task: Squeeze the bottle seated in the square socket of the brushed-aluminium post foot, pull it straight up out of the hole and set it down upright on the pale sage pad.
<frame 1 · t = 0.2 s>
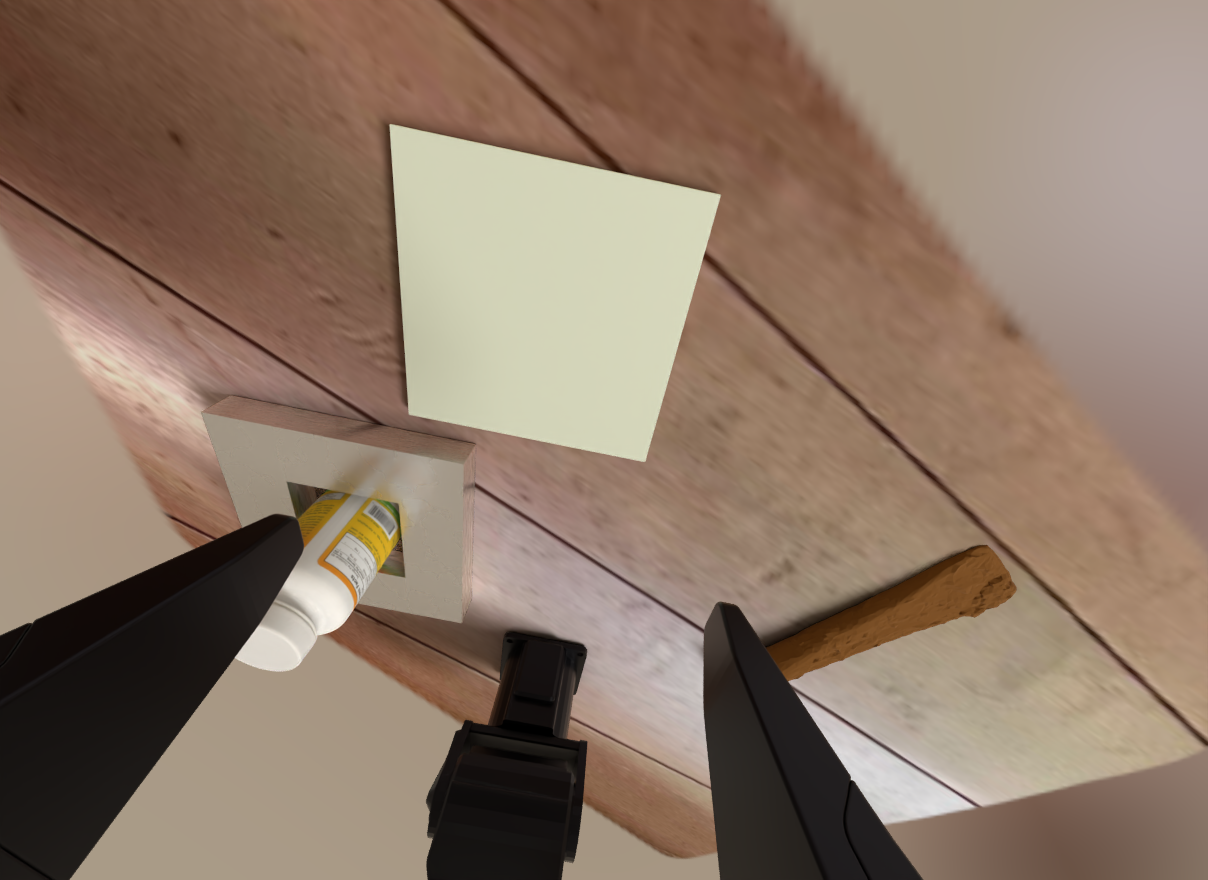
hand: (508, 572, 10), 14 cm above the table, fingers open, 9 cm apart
post foot: (367, 511, 29), on the table
sage pad: (542, 318, 21), on the table
primitive tool: (847, 610, 31), on the table
supplement bottle: (369, 508, 29), resting in post foot
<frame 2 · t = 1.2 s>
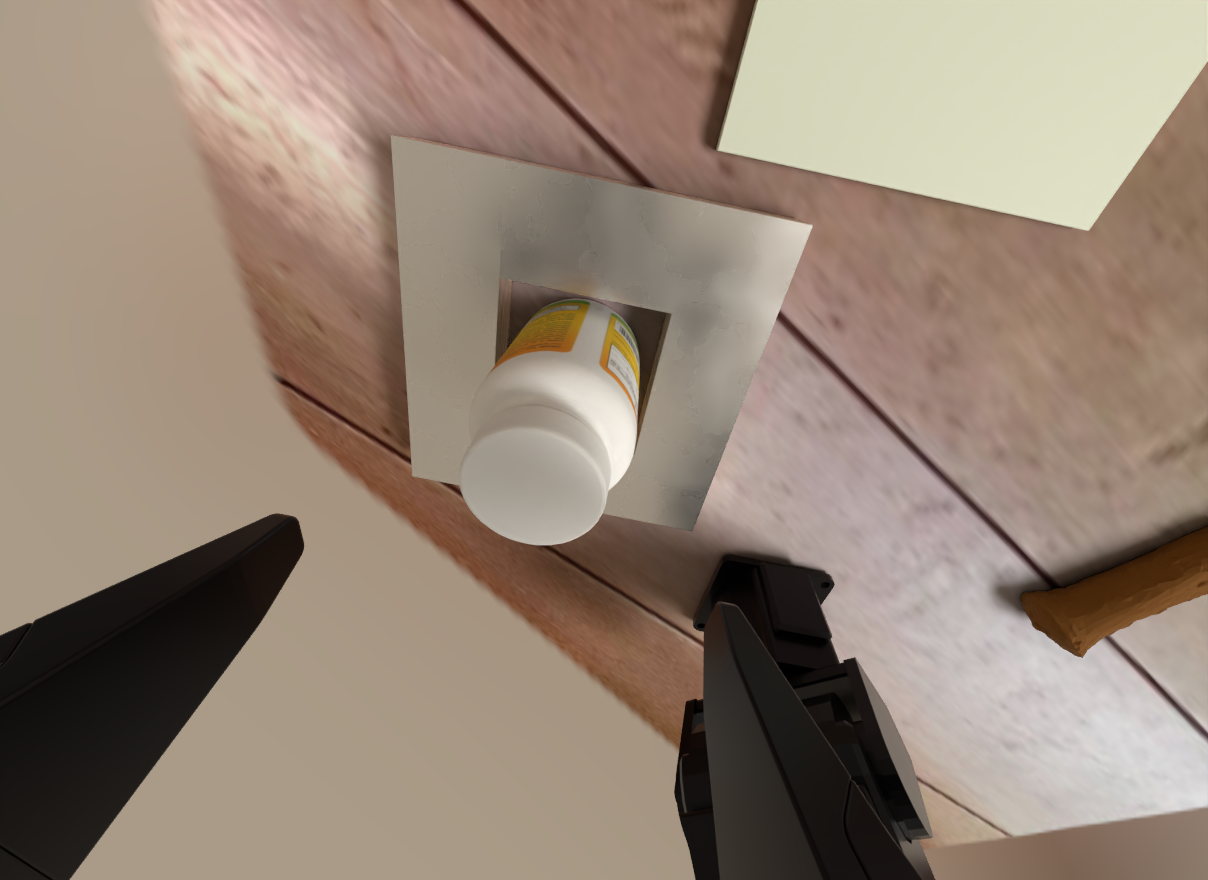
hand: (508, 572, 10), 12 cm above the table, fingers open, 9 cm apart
post foot: (579, 357, 20), on the table
supplement bottle: (580, 355, 20), resting in post foot
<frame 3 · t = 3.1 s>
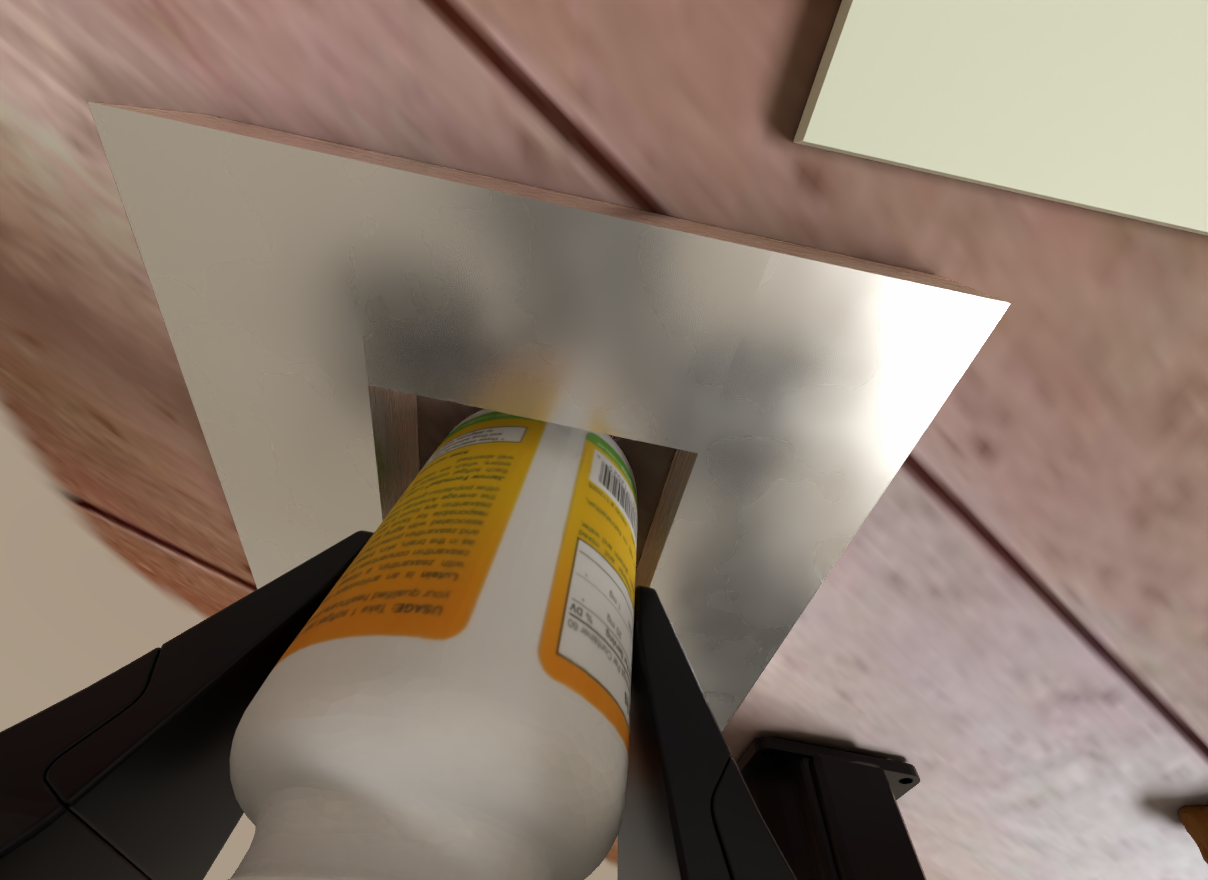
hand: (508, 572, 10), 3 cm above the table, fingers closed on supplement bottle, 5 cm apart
post foot: (538, 486, 12), on the table
supplement bottle: (540, 480, 12), resting in post foot, touching gripper
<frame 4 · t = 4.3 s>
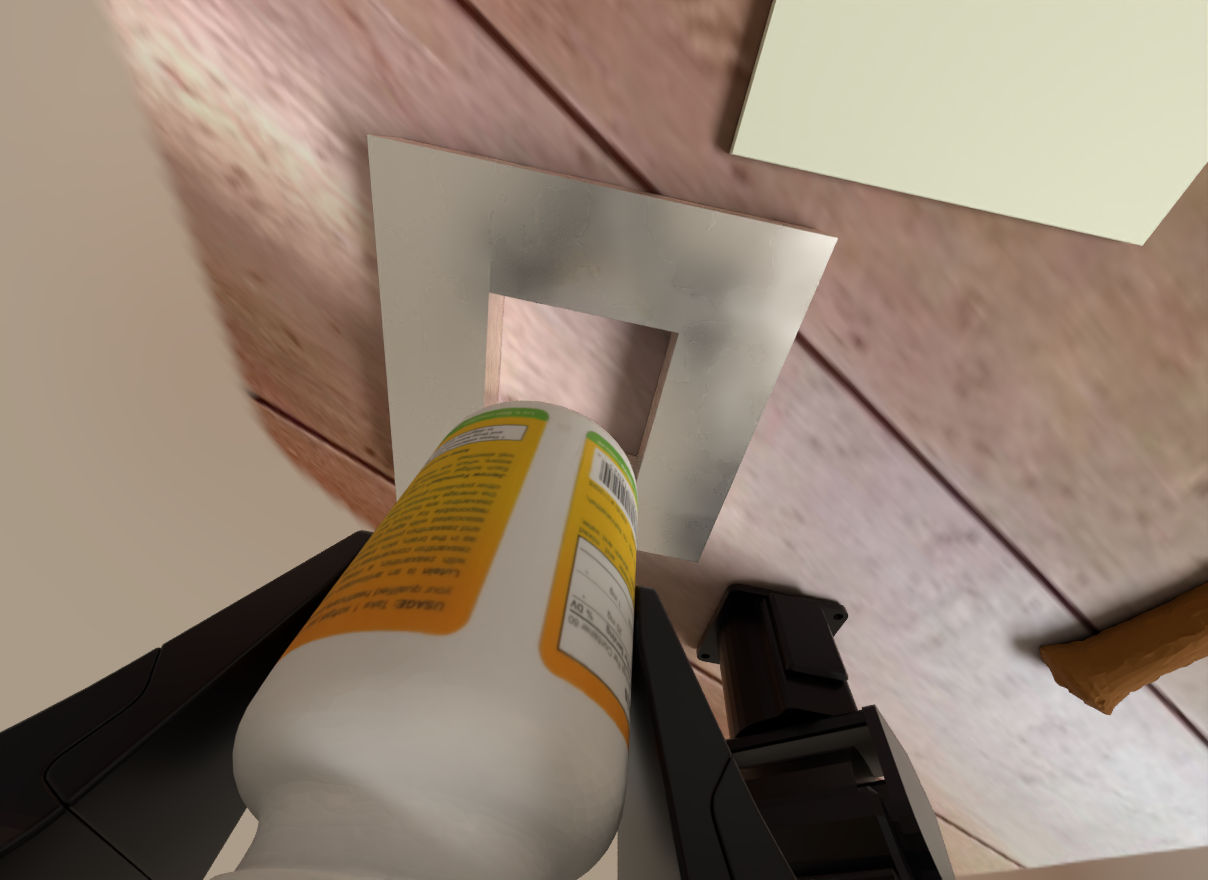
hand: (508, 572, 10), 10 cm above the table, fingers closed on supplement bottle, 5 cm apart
post foot: (577, 376, 18), on the table
supplement bottle: (540, 479, 12), point 7 cm above the table, touching gripper
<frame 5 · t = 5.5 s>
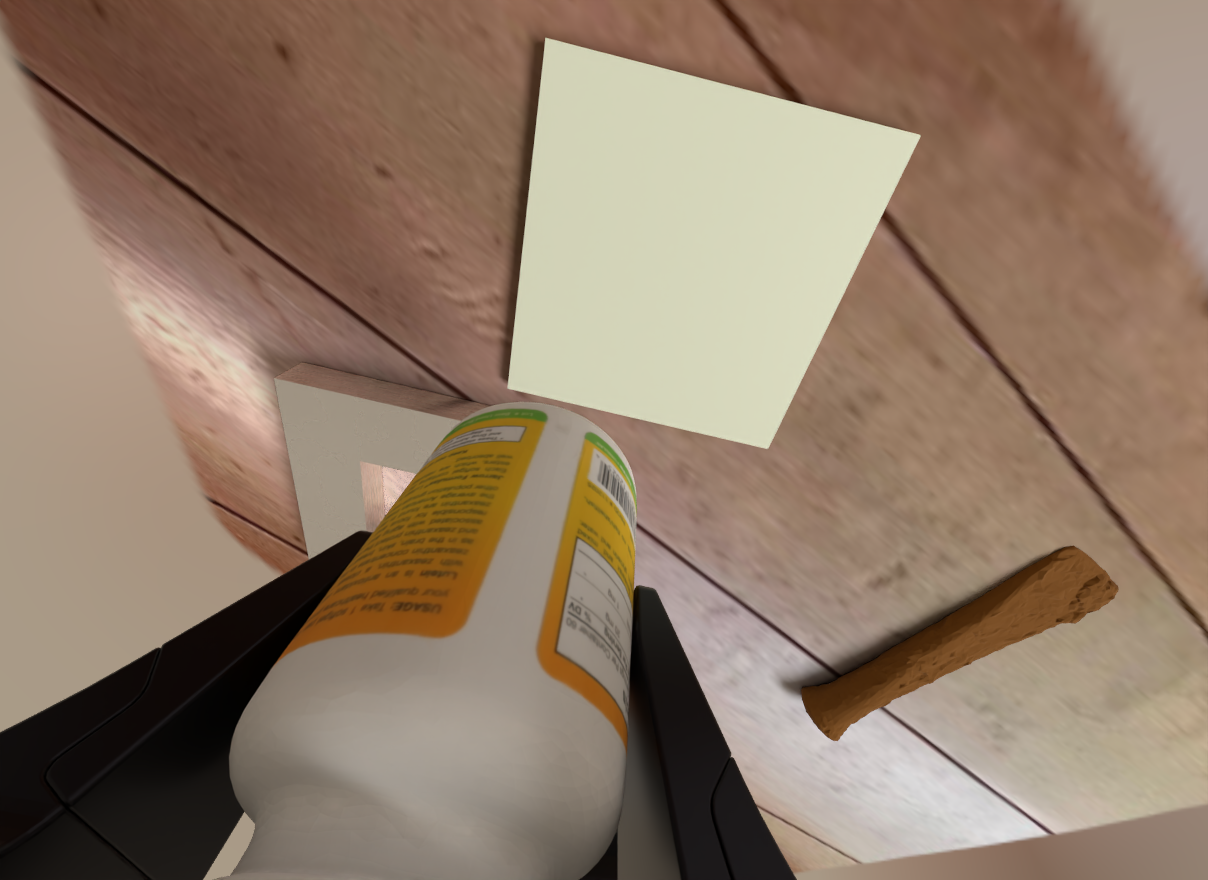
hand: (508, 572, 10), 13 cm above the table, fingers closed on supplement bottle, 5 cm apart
post foot: (437, 499, 26), on the table
sage pad: (677, 280, 19), on the table
primitive tool: (928, 628, 29), on the table
supplement bottle: (539, 480, 12), point 10 cm above the table, touching gripper
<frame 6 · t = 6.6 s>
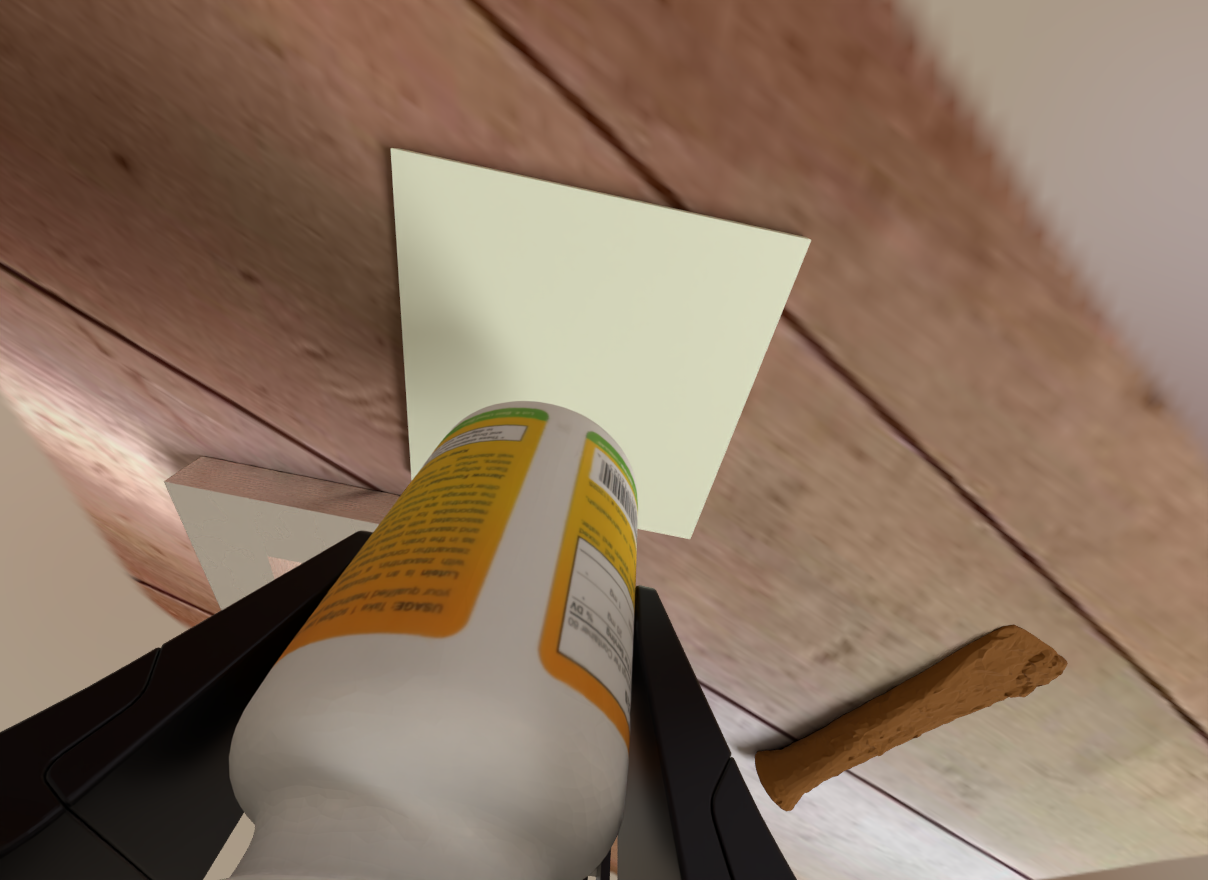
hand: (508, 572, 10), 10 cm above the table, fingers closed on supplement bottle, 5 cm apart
post foot: (362, 580, 25), on the table
sage pad: (574, 378, 18), on the table
primitive tool: (877, 696, 28), on the table
supplement bottle: (540, 479, 12), point 6 cm above the table, touching gripper
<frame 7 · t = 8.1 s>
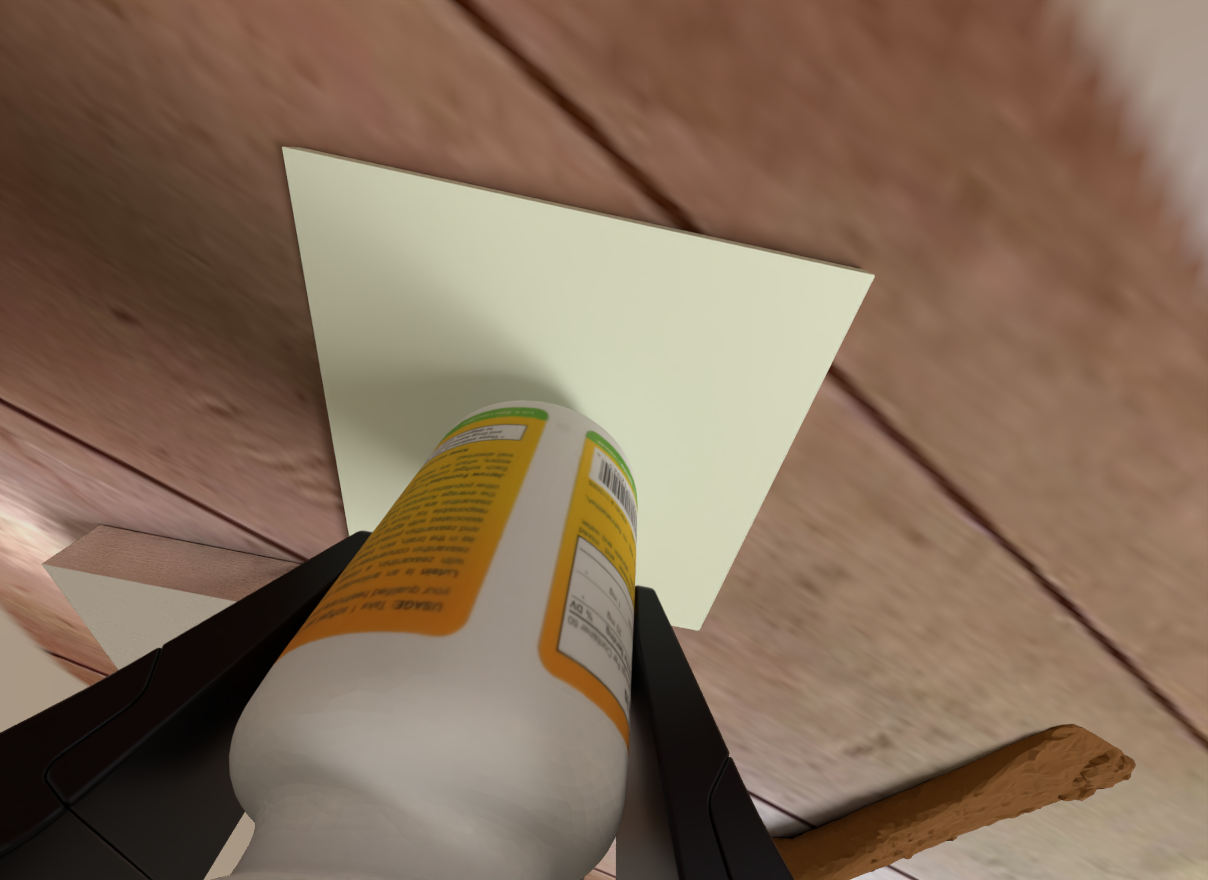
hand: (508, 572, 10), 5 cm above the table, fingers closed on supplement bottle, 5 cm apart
post foot: (309, 659, 21), on the table
sage pad: (552, 444, 14), on the table
primitive tool: (904, 785, 24), on the table
supplement bottle: (540, 479, 12), point 2 cm above the table, touching gripper
when the fingers open (5 cm above the table, at t = 8.2 s): supplement bottle drops 1 cm, resting on sage pad.
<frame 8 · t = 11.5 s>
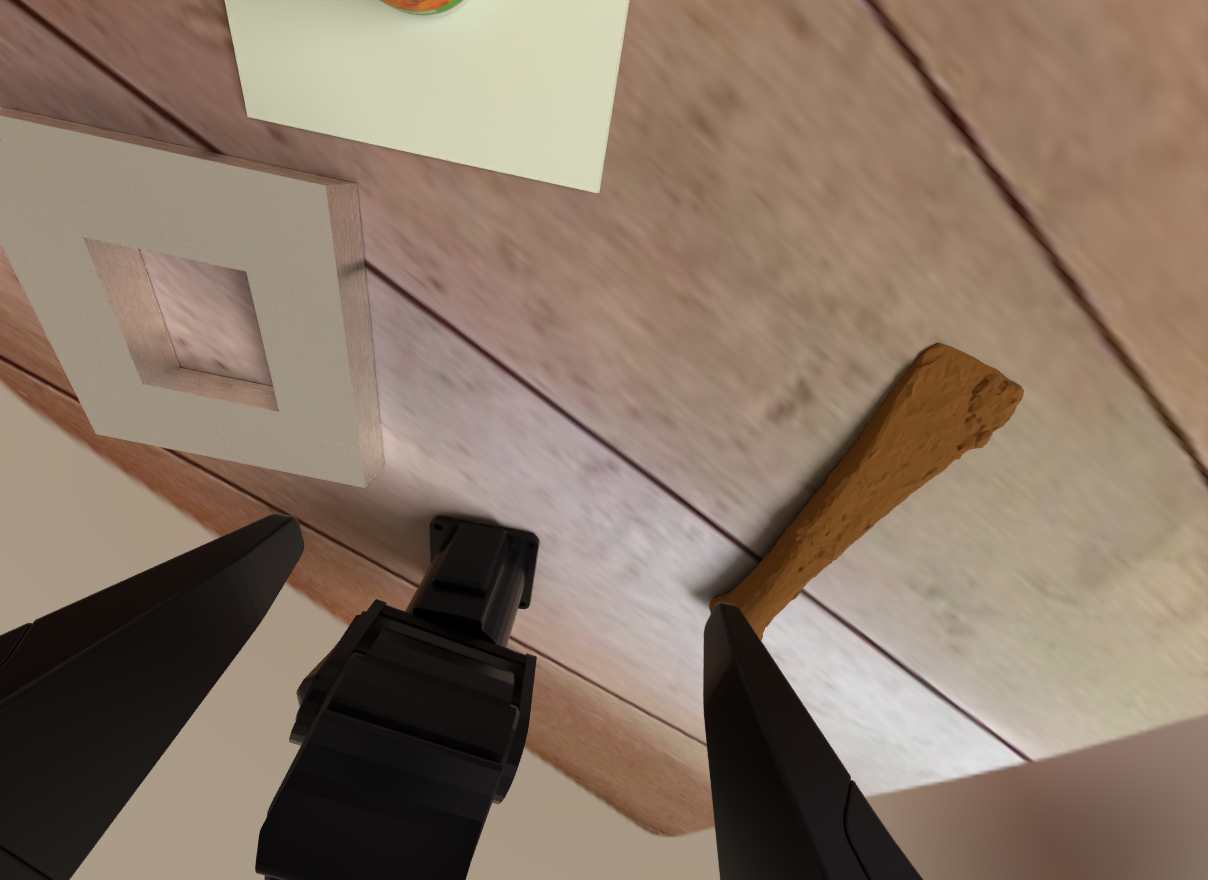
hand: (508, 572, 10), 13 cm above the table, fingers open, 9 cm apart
post foot: (226, 318, 21), on the table
primitive tool: (824, 497, 24), on the table
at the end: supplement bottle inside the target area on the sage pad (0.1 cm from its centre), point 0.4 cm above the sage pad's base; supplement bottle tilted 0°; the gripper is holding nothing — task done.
